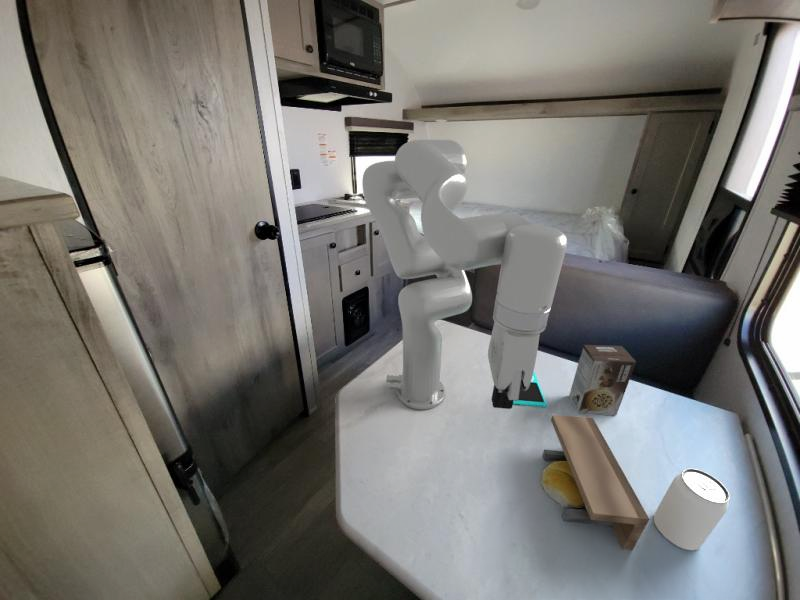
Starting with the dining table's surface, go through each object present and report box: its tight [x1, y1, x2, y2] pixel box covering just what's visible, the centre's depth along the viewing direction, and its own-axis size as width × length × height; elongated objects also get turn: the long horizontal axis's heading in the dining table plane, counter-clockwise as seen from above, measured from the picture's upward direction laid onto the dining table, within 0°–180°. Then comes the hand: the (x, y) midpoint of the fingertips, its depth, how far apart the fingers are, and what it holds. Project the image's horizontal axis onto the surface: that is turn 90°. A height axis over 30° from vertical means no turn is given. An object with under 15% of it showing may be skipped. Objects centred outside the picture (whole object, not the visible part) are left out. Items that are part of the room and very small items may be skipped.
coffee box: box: [569, 344, 637, 416], centre depth 77 cm, size 9×6×16 cm
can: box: [653, 467, 731, 551], centre depth 52 cm, size 6×6×12 cm
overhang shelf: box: [541, 414, 650, 551], centre depth 59 cm, size 10×20×8 cm, turn 174°
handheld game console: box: [513, 370, 548, 408], centre depth 88 cm, size 10×16×1 cm, turn 173°
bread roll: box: [541, 461, 586, 509], centre depth 61 cm, size 8×9×4 cm
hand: (501, 404), depth 55 cm, fingers closed
